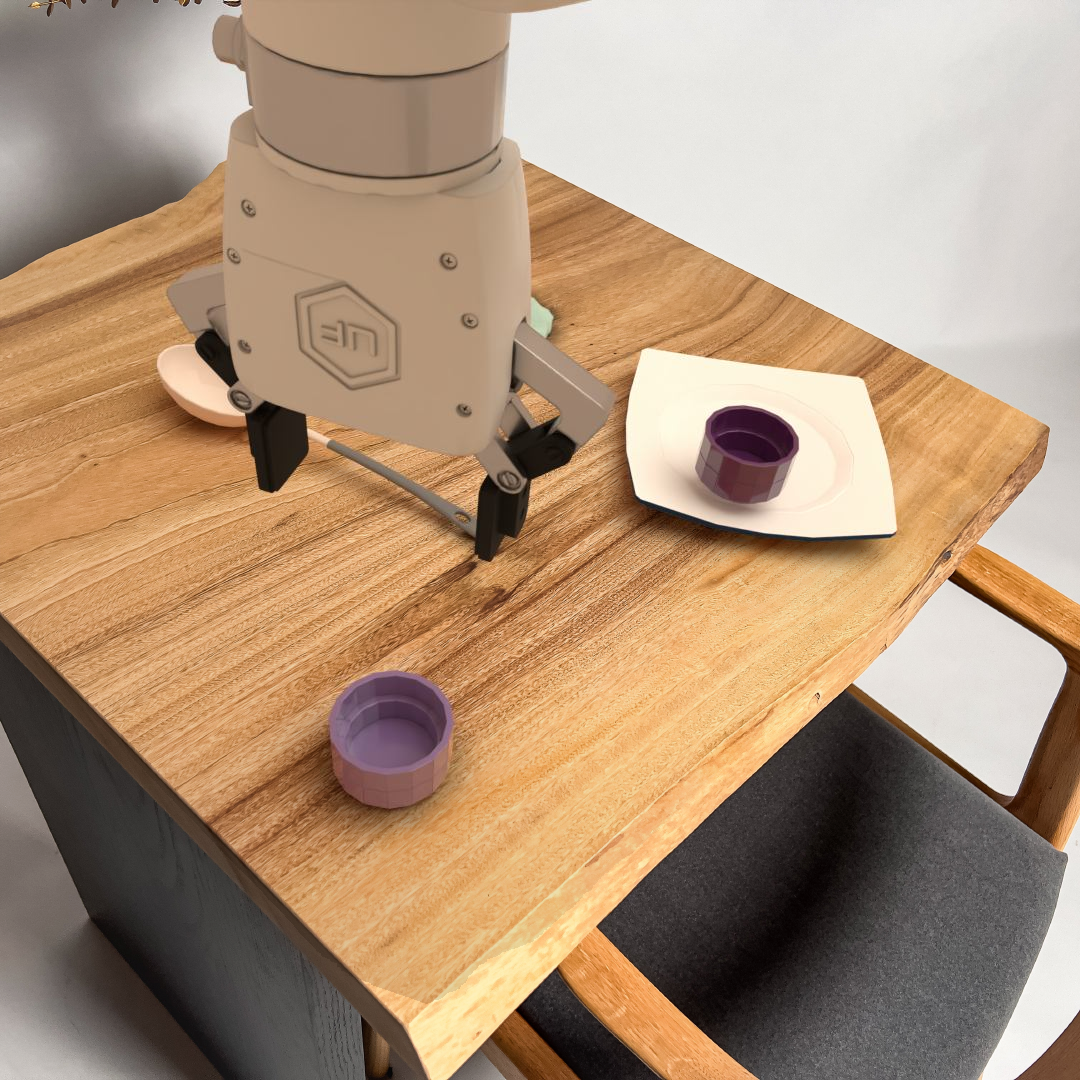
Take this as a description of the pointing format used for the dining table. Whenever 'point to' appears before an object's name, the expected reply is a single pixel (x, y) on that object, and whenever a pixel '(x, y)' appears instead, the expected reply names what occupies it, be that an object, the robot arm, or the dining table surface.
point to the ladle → (210, 403)
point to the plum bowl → (746, 454)
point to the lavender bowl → (391, 738)
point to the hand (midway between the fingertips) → (388, 504)
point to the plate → (820, 466)
